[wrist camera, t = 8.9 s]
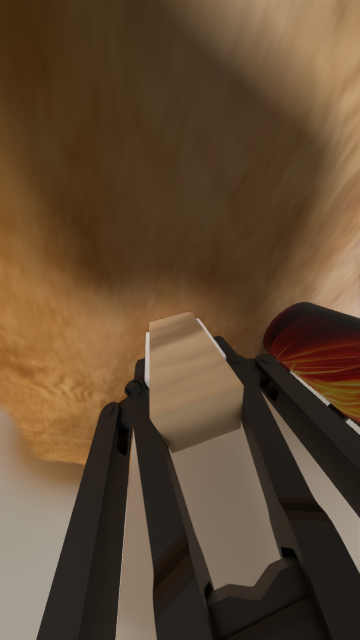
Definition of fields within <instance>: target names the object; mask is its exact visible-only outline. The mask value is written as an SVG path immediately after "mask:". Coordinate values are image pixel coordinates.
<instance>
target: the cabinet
mask: <svg viewBox="0 0 360 640" xmlns="http://www.w3.org/2000/svg"><path fill="white" fill-rule="evenodd" d="M262 394H263V393H262ZM263 396H264V398H265V400H266V402H267V404H268V406H269V408H270V410H271V412H272V414H273V416H274V418H275V420H276V422H277V424H278V426H279V428H280V430H281V432H282V434H283V436H284V438H285V440H286V442H287V444H288V446H289V448H290V450H291V452H292V454H293V456H294V458H295V460H296V463H297V465H298V467H299V469H300V471H301V473H302V475H303V477H304V479H305V481H306V483H307V485H308V487H309V489H310V491H311V493H312V495H313V496H314V498H315V500H316V501H317V503H318V504H319V505H320V506H321V508H322V509H323V510H324V511H325V512H326V513H327V515H328V516H329V518H330V519H331V521H332V522H333V524H334V526H335V527H336V529H337V531H338V533H339V535H340V536H341V538H342V540H343V542H344V544H345V546H346V548H347V550H348V552H349V554H350V556H351V558H352V559H353V561H354V563H355V565H356V567H357V569H358V571H359V573H360V518H359V517H358V515H357V514H356V513H355V511H354V510H353V509H352V508H351V506H350V505H349V504H348V502H347V501H346V500H345V499H344V497H343V496H342V495H341V493H340V492H339V491H338V490H337V488H336V487H335V486H334V484H333V483H332V482H331V481H330V479H329V478H328V477H327V475H326V474H325V473H324V472H323V470H322V469H321V468H320V466H319V465H318V464H317V462H316V461H315V460H314V459H313V457H312V456H311V455H310V453H309V452H308V451H307V450H306V448H305V447H304V446H303V444H302V443H301V442H300V441H299V439H298V438H297V437H296V435H295V434H294V433H293V432H292V430H291V429H290V428H289V426H288V425H287V424H286V423H285V421H284V420H283V419H282V417H281V416H280V415H279V413H278V412H277V411H276V410H275V408H274V407H273V406H272V404H271V403H270V402H269V401H268V399H267V398H266V397H265V395H264V394H263ZM169 451H170V449H169ZM170 454H171V458H172V461H173V464H174V467H175V470H176V474H177V477H178V480H179V483H180V486H181V489H182V493H183V496H184V499H185V502H186V505H187V509H188V512H189V515H190V518H191V521H192V524H193V528H194V531H195V534H196V537H197V540H198V542H199V545H200V547H201V550H202V552H203V555H204V558H205V561H206V564H207V567H208V570H209V573H210V577H211V580H212V583H213V586H214V589H215V590H216V589H218V588H220V587H223V586H225V585H227V584H236V585H243V586H250V587H252V586H254V585H255V584H256V582H257V581H258V579H259V578H260V576H261V575H262V574H263V572H264V571H265V569H266V568H267V566H268V565H269V564H271V563H273V562H275V561H277V560H279V559H281V558H280V554H279V551H278V548H277V544H276V541H275V537H274V534H273V531H272V527H271V523H270V519H269V513H268V508H267V504H266V501H265V497H264V494H263V491H262V488H261V484H260V481H259V478H258V475H257V471H256V468H255V465H254V461H253V458H252V455H251V452H250V448H249V445H248V442H247V438H246V435H245V432H244V429H243V425H242V422H241V428H240V429H238V430H235V431H232V432H230V433H227V434H224V435H221V436H219V437H216V438H213V439H211V440H208V441H205V442H202V443H200V444H197V445H194V446H192V447H189V448H186V449H183V450H181V451H178V452H175V453H173V454H172V452H171V451H170ZM153 579H154V575H153V563H152V556H151V549H150V542H149V535H148V528H147V521H146V514H145V507H144V500H143V493H142V486H141V479H140V472H139V465H138V458H137V451H136V444H135V437H134V430H133V441H132V453H131V465H130V477H129V489H128V502H127V514H126V526H125V538H124V550H123V562H122V574H121V586H120V598H119V610H118V622H117V635H116V640H157V637H156V629H155V620H154V610H153Z"/></svg>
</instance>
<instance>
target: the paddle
mask: <svg viewBox="0 0 360 640" xmlns="http://www.w3.org/2000/svg"><path fill="white" fill-rule="evenodd" d="M149 360H150V419H151V421H152V423H153V424H154V426H155V427H156V429H157V430H158V432H159V433H160V435H161V437H162V438H163V440H164V441H165V443H166V444H167V446H168V448H169V449H170V451H171V452H172V454H173V453H175V452H178V451H181V450H183V449H186V448H189V447H192V446H194V445H197V444H200V443H202V442H205V441H208V440H211V439H213V438H216V437H219V436H221V435H224V434H227V433H230V432H232V431H235V430H238V429H240V428H241V414H242V402H243V390H244V386H243V384H242V383H241V381H240V380H239V379H238V377H237V376H236V374H235V373H234V371H233V370H232V369H231V367H230V366H229V364H228V363H227V361H226V360H225V359H224V357H223V356H222V354H221V353H220V352H219V350H218V349H217V347H216V346H215V344H214V343H213V342H212V340H211V339H210V337H209V336H208V335H207V333H206V332H205V330H204V329H203V327H202V326H201V325H200V323H199V322H198V320H197V319H196V317H195V316H194V315H193V313H192V312H191V311H188V312H184V313H181V314H177V315H173V316H170V317H166V318H162V319H159V320H155V321H151V322H149Z"/></svg>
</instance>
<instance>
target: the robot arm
mask: <svg viewBox="0 0 360 640" xmlns="http://www.w3.org/2000/svg"><path fill="white" fill-rule="evenodd" d="M197 320H198V322H199V323H200V325H201V326H202V327H203V329H204V330H205V332H206V333H207V335H208V336H209V337H210V339H211V340H212V342H213V343H214V344H215V346H216V347H217V349H218V350H219V352H220V353H221V354H222V356H223V357H224V359H225V360H226V361H227V363H228V364H229V366H230V367H231V369H232V370H233V371H234V373H235V374H236V376H237V377H238V379H239V380H240V381H241V383H242V384H243V386H244V390H243V402H242V414H241V422H242V425H243V429H244V432H245V435H246V438H247V442H248V445H249V448H250V452H251V455H252V458H253V461H254V465H255V468H256V471H257V475H258V478H259V481H260V484H261V488H262V491H263V494H264V497H265V501H266V504H267V508H268V513H269V519H270V523H271V527H272V531H273V534H274V537H275V541H276V544H277V548H278V551H279V554H280V558H281V559H279V560H277V561H275V562H273V563H271V564H269V565H268V566H267V568H266V569H265V571H264V572H263V574H262V575H261V576H260V578H259V579H258V581H257V582H256V584H255V585H254V586H252V587H250V586H243V585H236V584H227V585H225V586H223V587H220V588H218V589H216V590H215V589H214V586H213V583H212V580H211V577H210V573H209V570H208V567H207V564H206V561H205V558H204V555H203V552H202V550H201V547H200V545H199V542H198V540H197V537H196V534H195V531H194V528H193V524H192V521H191V518H190V515H189V512H188V509H187V505H186V502H185V499H184V496H183V493H182V489H181V486H180V483H179V480H178V477H177V474H176V470H175V467H174V464H173V461H172V458H171V454H170V451H169V448H168V446H167V444H166V443H165V441H164V440H163V438H162V437H161V435H160V433H159V432H158V430H157V429H156V427H155V426H154V424H153V423H152V421H151V419H150V360H149V332H147V333H146V354H145V358H144V359H140V360H138V361H137V363H136V366H135V374H134V380H131V381H130V382H129V383H128V384H127V385H126V387H125V391H124V392H125V393H126V395H127V396H128V397H127V398H125V399H124V400H122V401H121V402H119V403H117V402H111V403H109V404H107V405H106V406H105V407H104V408H103V410H102V411H101V413H100V416H99V420H98V423H97V427H96V430H95V434H94V437H93V441H92V444H91V448H90V451H89V455H88V459H87V462H86V466H85V469H84V473H83V476H82V480H81V483H80V487H79V491H78V494H77V498H76V501H75V505H74V508H73V512H72V515H71V519H70V522H69V526H68V529H67V533H66V536H65V540H64V544H63V547H62V551H61V554H60V558H59V561H58V565H57V568H56V572H55V575H54V579H53V583H52V586H51V590H50V593H49V597H48V601H47V604H46V607H45V611H44V614H43V618H42V622H41V625H40V629H39V632H38V636H37V639H36V640H115V637H116V624H117V612H118V599H119V587H120V574H121V561H122V549H123V537H124V523H125V511H126V499H127V486H128V474H129V461H130V449H131V436H132V426H133V430H134V437H135V444H136V451H137V458H138V465H139V472H140V479H141V486H142V493H143V500H144V507H145V514H146V521H147V528H148V535H149V542H150V549H151V556H152V563H153V575H154V579H153V610H154V620H155V629H156V637H157V640H360V573H359V571H358V569H357V567H356V565H355V563H354V561H353V559H352V558H351V556H350V554H349V552H348V550H347V548H346V546H345V544H344V542H343V540H342V538H341V536H340V535H339V533H338V531H337V529H336V527H335V526H334V524H333V522H332V521H331V519H330V518H329V516H328V515H327V513H326V512H325V511H324V510H323V509H322V508H321V506H320V505H319V504H318V503H317V501H316V500H315V498H314V496H313V495H312V493H311V491H310V489H309V487H308V485H307V483H306V481H305V479H304V477H303V475H302V473H301V471H300V469H299V467H298V465H297V463H296V460H295V458H294V456H293V454H292V452H291V450H290V448H289V446H288V444H287V442H286V440H285V438H284V436H283V434H282V432H281V430H280V428H279V426H278V424H277V422H276V420H275V418H274V416H273V414H272V412H271V410H270V408H269V406H268V404H267V402H266V400H265V398H264V396H263V394H264V395H265V397H266V398H267V399H268V401H269V402H270V403H271V404H272V406H273V407H274V408H275V410H276V411H277V412H278V413H279V415H280V416H281V417H282V419H283V420H284V421H285V423H286V424H287V425H288V426H289V428H290V429H291V430H292V432H293V433H294V434H295V435H296V437H297V438H298V439H299V441H300V442H301V443H302V444H303V446H304V447H305V448H306V450H307V451H308V452H309V453H310V455H311V456H312V457H313V459H314V460H315V461H316V462H317V464H318V465H319V466H320V468H321V469H322V470H323V472H324V473H325V474H326V475H327V477H328V478H329V479H330V481H331V482H332V483H333V484H334V486H335V487H336V488H337V490H338V491H339V492H340V493H341V495H342V496H343V497H344V499H345V500H346V501H347V502H348V504H349V505H350V506H351V508H352V509H353V510H354V511H355V513H356V514H357V515H358V517H359V518H360V435H359V434H358V433H357V432H356V431H355V430H354V429H353V428H352V427H350V426H349V425H348V424H347V423H346V422H345V421H344V420H343V419H341V418H340V417H339V416H338V415H337V414H336V413H335V412H334V411H332V410H331V409H330V408H329V407H328V406H327V405H326V404H324V403H323V402H322V401H321V400H320V399H319V398H318V397H317V396H316V395H314V394H313V393H312V392H311V391H310V390H309V389H308V388H307V387H305V386H304V385H303V384H302V383H301V382H300V381H299V380H298V379H296V378H295V377H294V376H293V375H292V374H291V373H290V372H289V371H287V370H286V369H285V368H284V367H283V366H282V365H281V364H280V363H278V362H277V361H276V360H275V359H274V358H273V357H271V356H270V355H267V354H259V355H257V357H256V359H245V358H243V357H242V356H239V355H237V354H236V353H235V351H234V350H233V349H232V348H231V347H230V345H228V343H227V342H226V341H225V340H224V338H222V337H221V336H216V337H212V336H211V334H210V333H209V332H208V330H207V329H206V328H205V326H204V325H203V323H202V322H201V321H200V319H199V318H197ZM262 393H263V394H262Z"/></svg>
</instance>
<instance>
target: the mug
mask: <svg viewBox="0 0 360 640" xmlns="http://www.w3.org/2000/svg"><path fill="white" fill-rule="evenodd" d="M263 343H264V347H265V349H266V350H267V351H268V352H269V353H271V354H272V355H273V356H274V357H275V358H277V359H278V360H279V361H280V362H279V363H280V364H281V365H282V366H283V367H284V368H285V369H286V370H287V371H289V372H290V371H292V372H294V373H295V374H296V375H297V376H298V377H300V378H301V379H302V380H303V381H304V382H306V383H307V384H308V385H309V386H311V387H312V388H313V389H314V390H315V391H317V392H318V393H319V394H320V395H321V396H323V397H324V398H325V399H326V400H327V401H329V402H330V404H329V405H328V407H329V408H330V409H331V410H332V411H334V412H335V413H336V414H337V415H338V416H339V417H340V418H341V419H343V420H344V421H345V422H346V421H347V420H348V419H351V420H352V421H353V422H354V423H355V424H357V425H358V426H359V427H360V318H357V317H354V316H350V315H347V314H344V313H341V312H338V311H334V310H331V309H328V308H325V307H322V306H318V305H315V304H312V303H309V302H302V303H297V304H295V305H292V306H290V307H288V308H287V309H285V310H284V311H282V312H281V313H280V314H279V315H278V316H277V317H276V318H275V319H274V320H273V321H272V322H271V324H270V325H269V327H268V328H267V330H266V333H265V336H264V342H263Z"/></svg>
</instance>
